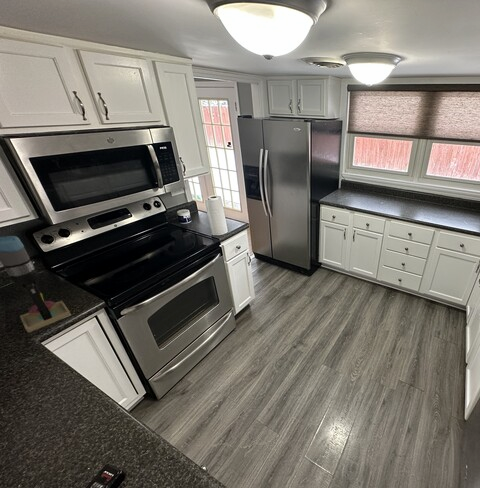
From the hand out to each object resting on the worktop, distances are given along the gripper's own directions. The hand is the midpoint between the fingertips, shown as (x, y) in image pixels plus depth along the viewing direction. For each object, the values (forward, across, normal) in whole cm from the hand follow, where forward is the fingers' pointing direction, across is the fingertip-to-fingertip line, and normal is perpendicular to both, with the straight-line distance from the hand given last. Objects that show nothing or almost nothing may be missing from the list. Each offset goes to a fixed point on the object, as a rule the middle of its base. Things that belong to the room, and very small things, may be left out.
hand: (46, 315), depth 119 cm
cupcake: (+1, 0, 0) cm, 1 cm away
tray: (+1, 0, 0) cm, 1 cm away
